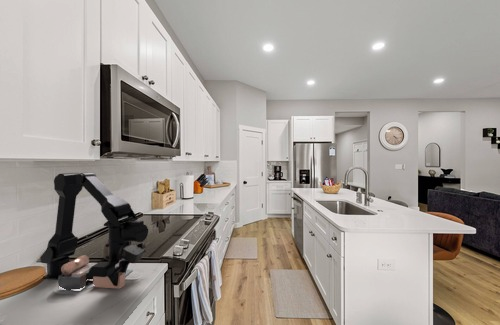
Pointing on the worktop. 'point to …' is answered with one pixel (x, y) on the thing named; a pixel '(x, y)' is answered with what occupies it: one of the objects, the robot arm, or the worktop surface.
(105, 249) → the vase
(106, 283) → the salmon pink rectangular block
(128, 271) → the mat
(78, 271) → the dispenser
